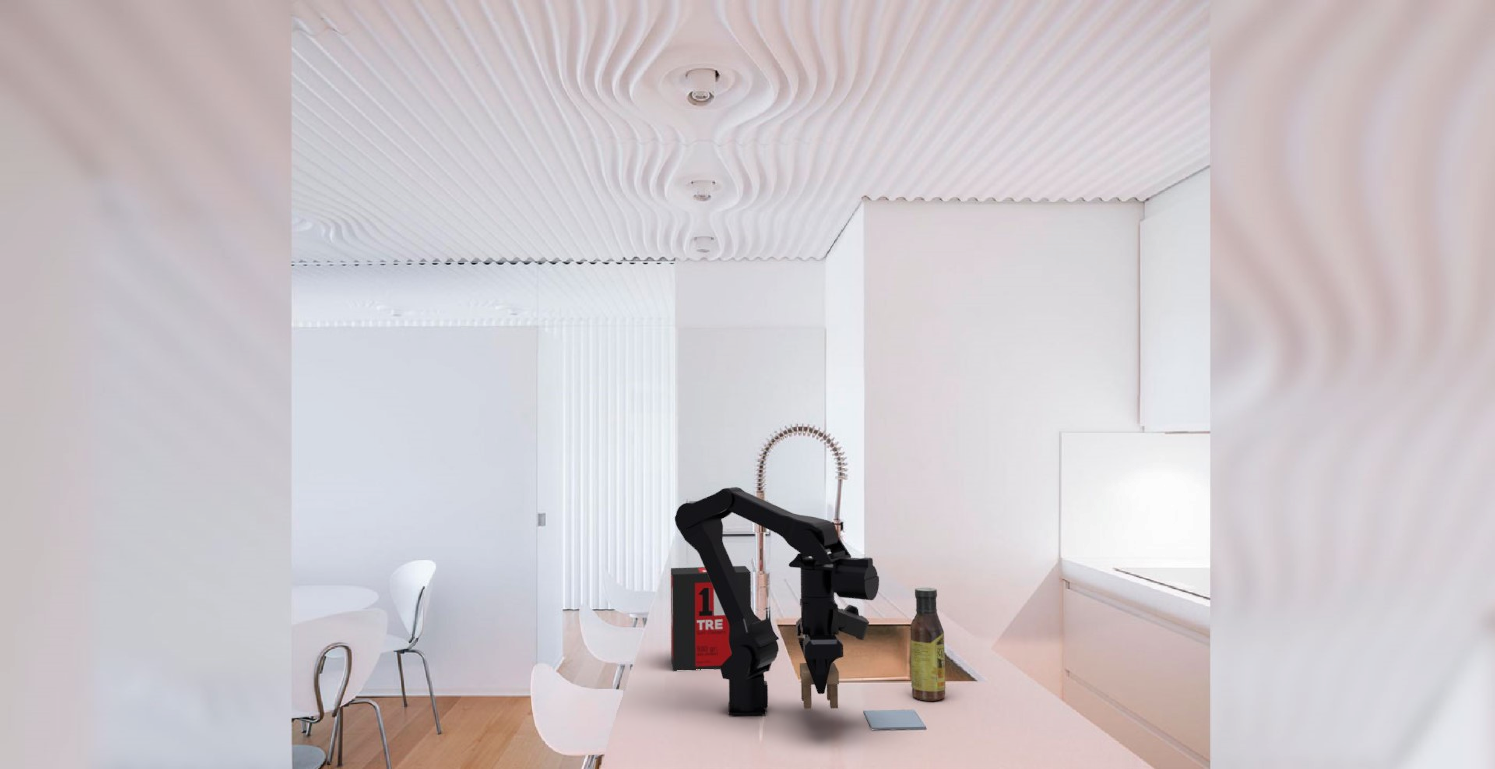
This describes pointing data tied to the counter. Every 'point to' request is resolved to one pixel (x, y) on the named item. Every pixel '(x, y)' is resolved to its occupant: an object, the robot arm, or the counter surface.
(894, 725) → the pad
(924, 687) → the sauce bottle
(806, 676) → the stool
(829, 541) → the robot arm
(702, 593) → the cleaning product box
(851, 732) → the counter surface
